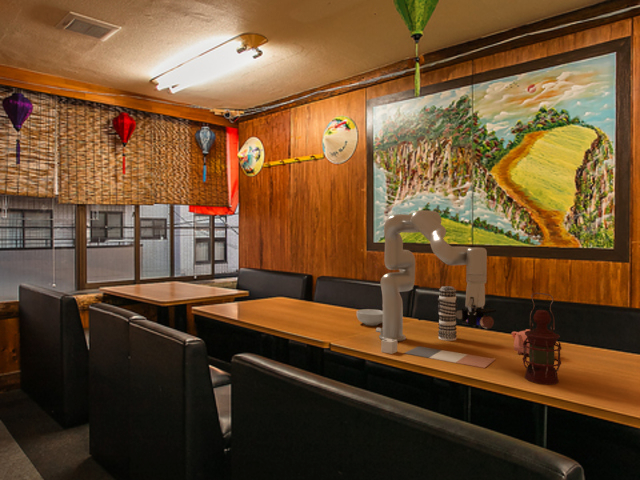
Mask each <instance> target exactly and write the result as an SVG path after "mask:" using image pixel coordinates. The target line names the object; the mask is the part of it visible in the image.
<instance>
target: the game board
mask: <svg viewBox="0 0 640 480" xmlns="http://www.w3.org/2000/svg"><path fill="white" fill-rule="evenodd" d="M403 354H405V355H411V356H415V357H421V358H426V359H432V360H437V361H443V362H448V363H453V364H454V363H455V364H457V365H458V364H459V365H464V366H469V367H476V368H479V369H480V368H481V369H486V368H487V367H488V366H489V365H491V364H492V363H494V362H495V361H496V358H491V357H485V356H479V355H473V354H469V353H460V352H455V351H450V350H442V349H437V348H432V347H431V348H430V347H425V346H419V345H418V346H416V347H414V348H412V349H410V350H408V351H405V352H404V353H403Z"/></svg>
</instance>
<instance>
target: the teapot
mask: <svg viewBox="0 0 640 480" xmlns="http://www.w3.org/2000/svg"><path fill="white" fill-rule="evenodd" d="M530 330H531V329H530V328H529V329H527V328H526V329H525V330H520V331H512V332H511V337H512V338H513V339H514V340H513V341H514V342H513V348H514V351H515V352H517V354H518V355H523V354H524V347H523V343H524V341H525V339H526V338H527V336H526V335H525V332H526V331H530ZM527 342H528V340H527ZM526 346H530V343H527V345H526ZM526 354H527V355H529V348H526Z"/></svg>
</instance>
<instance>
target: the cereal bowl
mask: <svg viewBox="0 0 640 480" xmlns="http://www.w3.org/2000/svg"><path fill="white" fill-rule="evenodd" d="M356 317H357V320H358V321H359V322H361V323H362V324H363V325H365V326H371V327H373V326H374V327H375V326H379V324H383V310H380V309H369V308H367V309H364V308H363V309H359V310H356Z"/></svg>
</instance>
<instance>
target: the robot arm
mask: <svg viewBox="0 0 640 480" xmlns="http://www.w3.org/2000/svg"><path fill="white" fill-rule="evenodd" d="M400 233H405V234H406V233H408V234H409V233H415V234H416V233H421V234H422V235H423V236H424V238H425V239H426V240H428V241H429V243H430V247H431V251H432V252H433V254H434V255H435V257H437V258H438V259H439V260H440V261H442V262H443V263H444V264H446V265H448V266H464V265H466V274H465V275H466V277H465V282H466V283H467V285H466V289H465V290H466V291H465V308H468V324H467V325H469V326H478V325H477V317H483V316H485V313H478V312H476V311H477V309H478V308H484V307H485V305H486V288H485V287H486V286H485V284H486V283H487V271H488V269H487V268H488V267H487V266H488V265H487V262H488V261H487V259H488V258H487V255H488V254H487V253H488V251H487V249H486V248H484V247H470V246H452V245H450V244H449V243H448V242H447V241H446V240H445V239H444V238H445V236H446V234H447V230H446V227H444V226H443V225H442V218H441V215H440V214H439V213H438V212H437V211H435V210H421V209H420V210H417V211H415V212H413V214H405V213H404V214H401V213H400V214H392V215H390V216H389V217H388V218H387V219H386V220H385V223H384V226H383V234H384V265H385V268H386V269H387V270H390V271H395V272H388V273H385V274H384V275H383V276H382V277H381V278H380V288H381V295H382V311H383V323H382V327H376V329H375V333H380V334H379V339H380V340H384V339H387V338H388V339H394V340H397V342H401V341H405V340H406V338H407V337H406V335H405V334H403V332H404V331H403V325H404V324H403V323H404V318H403V317H404V316H403V315H404V313H403V311H404V310H403V309H404V305H403V298H402V296H401V294H400V292H401V293H402V292H409V291H411V290H412V289H413V288H414V285H415V280H416V257H415V255H414V254H413V252H412V251H410V250H409V249H404V247H403V246H404V241H403V237H402V234H400ZM398 271H399V272H398ZM473 309H474V310H473Z"/></svg>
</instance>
